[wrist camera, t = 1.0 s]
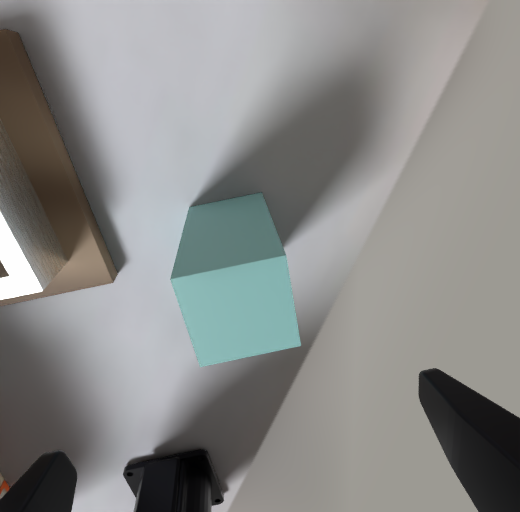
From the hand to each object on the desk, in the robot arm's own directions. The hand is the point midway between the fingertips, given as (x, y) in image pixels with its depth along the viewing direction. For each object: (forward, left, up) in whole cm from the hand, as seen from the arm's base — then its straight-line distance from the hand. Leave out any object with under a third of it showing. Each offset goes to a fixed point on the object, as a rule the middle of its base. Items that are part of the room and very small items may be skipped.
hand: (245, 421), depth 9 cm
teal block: (0, 0, -13) cm, 13 cm away
